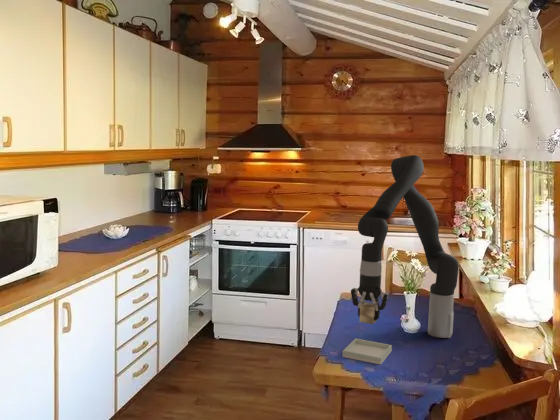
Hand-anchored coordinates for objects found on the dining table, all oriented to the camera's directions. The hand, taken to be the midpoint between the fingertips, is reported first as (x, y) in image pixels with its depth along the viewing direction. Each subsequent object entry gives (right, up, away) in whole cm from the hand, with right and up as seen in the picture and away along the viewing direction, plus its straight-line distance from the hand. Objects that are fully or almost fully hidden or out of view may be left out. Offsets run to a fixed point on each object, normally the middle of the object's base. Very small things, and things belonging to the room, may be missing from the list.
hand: (368, 318), depth 199 cm
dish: (0, -13, +1) cm, 13 cm away
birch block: (0, -1, 0) cm, 1 cm away
